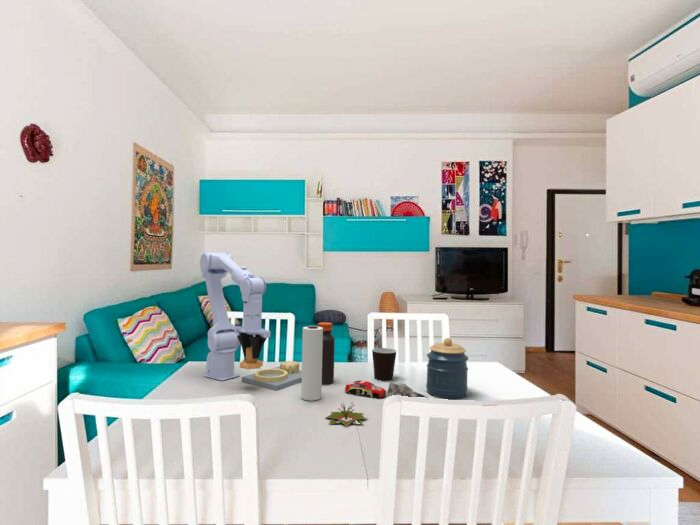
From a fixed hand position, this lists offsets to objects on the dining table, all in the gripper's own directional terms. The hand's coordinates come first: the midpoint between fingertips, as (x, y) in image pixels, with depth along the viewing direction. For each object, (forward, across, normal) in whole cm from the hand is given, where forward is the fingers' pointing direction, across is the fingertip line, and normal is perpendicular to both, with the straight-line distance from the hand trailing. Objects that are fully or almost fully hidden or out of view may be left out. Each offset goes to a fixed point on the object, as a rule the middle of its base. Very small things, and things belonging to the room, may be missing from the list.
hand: (251, 357), depth 136 cm
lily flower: (+10, +39, -2) cm, 41 cm away
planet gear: (+3, 0, 0) cm, 3 cm away
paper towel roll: (+10, +21, +5) cm, 24 cm away
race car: (+10, +32, +18) cm, 38 cm away
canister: (+10, +52, +36) cm, 64 cm away
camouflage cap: (+10, +47, +16) cm, 51 cm away
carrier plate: (+10, 0, +13) cm, 16 cm away
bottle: (+10, +14, +20) cm, 26 cm away
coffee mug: (+10, +28, +38) cm, 48 cm away
